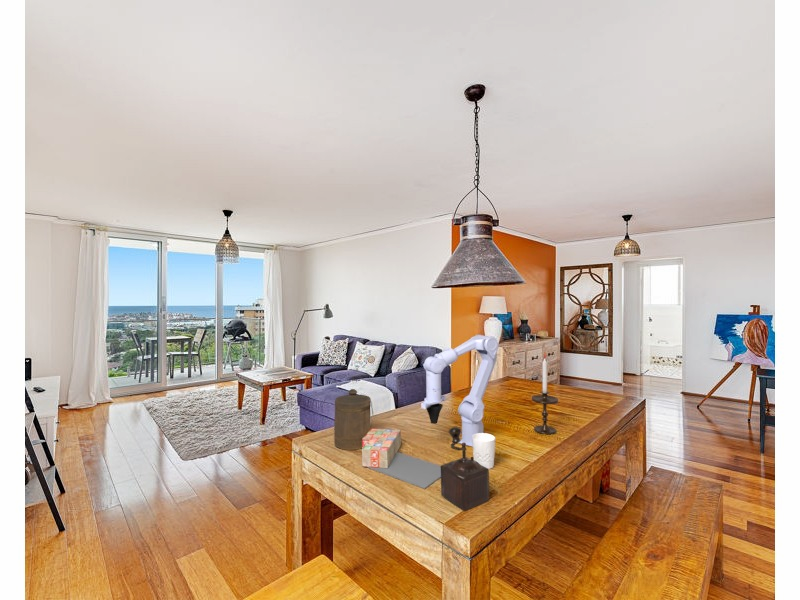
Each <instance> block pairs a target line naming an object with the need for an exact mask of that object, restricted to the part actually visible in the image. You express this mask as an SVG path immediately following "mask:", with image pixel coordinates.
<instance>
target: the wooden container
mask: <svg viewBox="0 0 800 600" xmlns="http://www.w3.org/2000/svg"><path fill="white" fill-rule="evenodd" d="M371 403H372V401H371V397H370V396H368V395H366V394H358V391H357V389H356V388H351V389H349V390H348V394H345V395H340V396H337V397H336V398H335V399H334V421H333V422H334V425H333V426H334V428H333V429H334V431H333V433H334V437H333V438H334V446H335V447H336V448H338V449H341V450H345V451H353V450H354V451H356V450H362V439H363V438H364V437H365V436H366V435H367V433H368V432H369V431H370V430H371V429H372V419H371V418H372V417H371V415H372V414H371V412H372V411H371V406H372V405H371Z"/></svg>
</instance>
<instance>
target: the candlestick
mask: <svg viewBox="0 0 800 600" xmlns="http://www.w3.org/2000/svg"><path fill="white" fill-rule="evenodd" d="M546 355H547V353H546V352H544V354H543V361H542V368H541V369H542V390H541V391H540V392H539V393H541V394H537V395H533V396H531V401H532V402H534V403H536V404H541V405H542V410H543V412H541V416H542V418H541V420H542V421H543V422H542V423H543V424H542V425H536V426H534V427H533V428H534V429H533V430H534V432H535V433H537V434H540V435H544V434H546V435H545V436H547V435H548V436H550V435H551V434H553V435H555V434H557V428H555V427H554V426H553V427H552V426H549V425H548V424H547V422H548V421H549V419H548V416H549V413H548V412H547V405H554V404H558V403H559V398H557V397H555V396H553V395H549V394H551V393H550V392H549V391H548V361H546ZM551 436H552V435H551Z"/></svg>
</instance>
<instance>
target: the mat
mask: <svg viewBox="0 0 800 600" xmlns="http://www.w3.org/2000/svg"><path fill="white" fill-rule="evenodd" d="M367 469H369V470H373V471H375V472H378V473H381V474H384V475H385V476H388V477H391V478H393V479H394V478H395V479H396V480H400V481H401V482H404V483H407V484H410V485H413V486H415V487H418V488H420V489H423V490H426V489H428V488H429V487H430V486H431V485H433V484H434V483H435V482H437V481H439V480H441V465H440V464H437V463H434V462H430V461H427V460H424V459H421V458H419V457H414V456H412V455H408V454H405V453H402V452H399V451H397V453H396V454H395V456H394V458H393V459H392V461H391V463H390V465H389V467H388V468H376V467H367Z"/></svg>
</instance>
